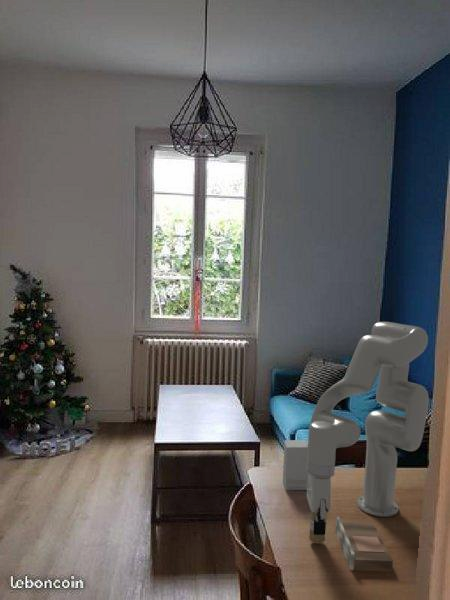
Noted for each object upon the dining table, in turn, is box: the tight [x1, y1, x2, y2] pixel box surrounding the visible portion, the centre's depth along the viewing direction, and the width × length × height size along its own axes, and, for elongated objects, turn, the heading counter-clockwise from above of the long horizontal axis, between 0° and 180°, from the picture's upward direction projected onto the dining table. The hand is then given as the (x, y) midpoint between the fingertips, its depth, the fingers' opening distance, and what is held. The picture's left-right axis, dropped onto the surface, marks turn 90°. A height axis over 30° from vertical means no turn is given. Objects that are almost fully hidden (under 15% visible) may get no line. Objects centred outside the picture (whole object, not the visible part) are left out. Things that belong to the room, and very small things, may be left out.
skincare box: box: [282, 439, 308, 491], centre depth 177 cm, size 8×7×16 cm
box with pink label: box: [334, 516, 394, 573], centre depth 142 cm, size 18×11×4 cm, turn 0°
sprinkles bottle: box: [308, 508, 326, 544], centre depth 144 cm, size 5×5×14 cm
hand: (317, 528), depth 144 cm, fingers closed on sprinkles bottle, 4 cm apart
